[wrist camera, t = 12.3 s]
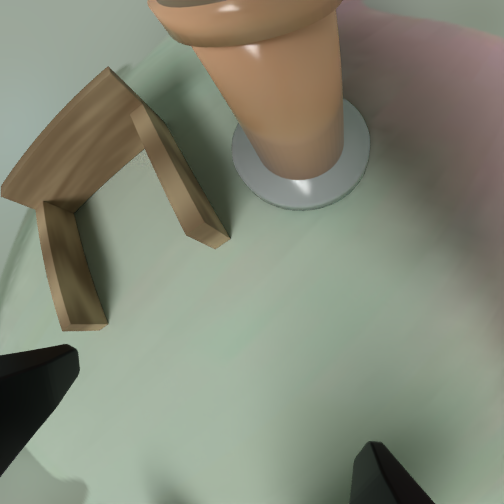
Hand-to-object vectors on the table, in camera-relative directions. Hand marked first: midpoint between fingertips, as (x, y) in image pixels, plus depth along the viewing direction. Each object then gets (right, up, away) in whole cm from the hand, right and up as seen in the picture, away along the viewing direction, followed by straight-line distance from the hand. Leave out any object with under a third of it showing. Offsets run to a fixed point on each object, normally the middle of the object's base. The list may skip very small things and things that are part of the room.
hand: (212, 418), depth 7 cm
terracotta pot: (+4, +11, +10) cm, 16 cm away
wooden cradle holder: (-9, +7, +15) cm, 18 cm away
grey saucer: (+4, +11, +12) cm, 17 cm away
